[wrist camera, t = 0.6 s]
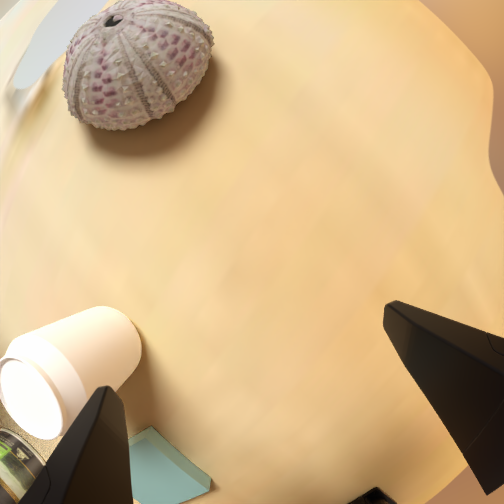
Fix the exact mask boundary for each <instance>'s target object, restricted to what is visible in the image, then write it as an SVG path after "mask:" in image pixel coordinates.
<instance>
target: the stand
mask: <svg viewBox="0 0 504 504" xmlns="http://www.w3.org/2000/svg"><path fill="white" fill-rule="evenodd" d="M128 442H129V453H130V470H131V484H132V495H133V498H134V499H136V500H137V501H138V502H140V503H141V504H179V503H181V502H184V501H187V500H189V499H192V498H194V497H196V496H199V495H201V494H204V493H206V492H208V491H209V490H210V483H211V477H209V476H208V475H207V474H205V473H204V472H203V471H202V470H200V469H199V468H198V467H197V466H195V465H194V464H193V463H192V462H191V461H189V460H188V459H187V458H186V457H185V456H184V455H182V454H181V453H180V452H179V451H178V450H177V449H176V448H174V447H173V446H172V445H171V444H170V443H169V442H168V441H167V440H166V439H165V438H163V437H162V436H161V435H160V434H159V433H158V432H157V431H156V430H155V429H154V428H153V427H152V426H150V427H148V428H147V429H145V430H143V431H142V432H140V433H138V434H137V435H135V436H133V437H132V438H130V439H128Z"/></svg>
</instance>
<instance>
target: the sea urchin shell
mask: <svg viewBox="0 0 504 504" xmlns="http://www.w3.org/2000/svg"><path fill="white" fill-rule="evenodd" d="M209 27H210V26H208V25H206V24H204V22H203V20H202V19H201V18H199V17H198V16H197V13H196V12H194V11H190V10H189V9H187V8H185V7H183V6H181V5H179V4H177V3H175V2H170V1H167V0H119V1H118V2H116V3H115V4H114V5H113V6H111V7H109V8H108V9H106V10H104V11H102V12H100V13H99V14H97V15H94V16H92V17H91V18H90V19H89V20H88V21H87V22H86V23H84V24H83V25H82V26H81V27H80V28H79V29H78V30H77V33H76V34H75V35H74V37H73V39H72V40H71V41H70V42H71V44H69V45H68V46H67V48H68V50H67V51H66V60H65V65H64V73H63V83H64V84H63V87H62V90H63V91H64V92H65V94H64V95H65V96H64V97H65V98H66V99H68V102H67V103H68V110H69V111H71V116H74V117H75V118H78V119H79V121H80V123H83V122H85V123H86V124H90V123H91V124H93V126H94V127H96V128H98V127H100V128H101V129H103V128H106V129H107V130H108V131H109V130H111V129H112V130H113V131H115V130H117V129H120V130H123V131H124V130H126V129H127V128H130V129H132V128H136V127H137V126H138V125H142V126H144V125H145V124H146V122H147V121H149V120H151V119H154V118H156V119H161V118H162V116H163V115H164V114H165V113H170V112H173V111H174V108H175V105H176V104H178V103H179V102H180V101H184V100H185V99H187V96H188V95H190V94H192V92H193V90H194V89H195V86H197V85H198V84H200V81H201V80H202V77H203V76H204V75H205V71H206V70H208V64H209V62H208V60H209V59H210V58H211V57H212V56H211V54H210V51H211V47H212V46H213V45H214V42H213V39H214V37H213V36H212V35H211V34H212V31H211V30H209Z"/></svg>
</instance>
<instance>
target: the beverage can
mask: <svg viewBox="0 0 504 504" xmlns="http://www.w3.org/2000/svg"><path fill="white" fill-rule="evenodd" d="M141 353H142V346H141V340H140V337H139V334H138V332H137V330H136V328H135V326H134V325H133V323H132V322H131V321H130V320H129V319H128V318H127V317H126V316H125V315H124V314H123V313H121V312H120V311H118V310H116V309H114V308H111V307H106V306H98V307H93V308H90V309H87V310H85V311H82V312H79V313H77V314H74V315H72V316H69V317H67V318H64V319H61V320H59V321H56V322H54V323H51V324H49V325H46V326H44V327H41V328H39V329H36V330H34V331H31V332H29V333H26V334H24V335H21V336H19V337H17V338H16V339H14V340H13V341H12V342H11V344H10V345H9V347H8V349H7V352H6V354H5V356H4V357H3V358H1V359H0V399H1V401H2V403H3V405H4V407H5V409H6V410H7V412H8V413H9V415H10V416H11V417H12V419H13V420H14V421H15V422H16V423H17V424H18V425H19V426H20V427H21V428H22V429H24V430H25V431H26V432H27V433H29V434H31V435H32V436H34V437H36V438H39V439H42V440H53V439H55V438H57V437H58V436H64V435H65V433H66V432H67V430H68V429H69V427H70V426H71V424H72V423H73V421H74V420H75V418H76V417H77V416H78V414H79V413H80V411H81V410H82V408H83V407H84V405H85V404H86V403H87V401H88V400H89V398H90V397H91V395H92V394H93V393H94V391H95V390H96V389H97V388H98V387H100V386H106V385H109V386H110V387H112V389H113V390H114V391H115V392H116V391H117V390H118V389H119V387H120V386H121V385H122V384H123V383H124V382H125V381H126V379H127V378H128V377H129V376H130V375H131V374H132V373H133V371H134V370H135V369H136V367H137V366H138V364H139V361H140V358H141Z"/></svg>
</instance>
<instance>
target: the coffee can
mask: <svg viewBox="0 0 504 504" xmlns="http://www.w3.org/2000/svg"><path fill="white" fill-rule="evenodd" d="M44 465H46V463H45V461H44V460H43V458H42V457H41V456H40V455H39V454H38V452H37V451H36V450H35V449H34V448H33V447H32V446H31V445H30V444H29V443H28V442H27V441H25V440H24V439H23V438H22V437H20V436H19V435H18V434H16V433H14V432H13V431H11V430H8V429H4V428H0V504H17V503H18V502H19V500H20V499H21V498H22V497H23V495H24V494H25V493H26V491H27V490H28V489H29V487H30V486H31V485H32V483H33V482H34V480H35V479H36V477H37V476H38V474H39V473H40V471H41V470H42V468H43V466H44Z"/></svg>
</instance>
